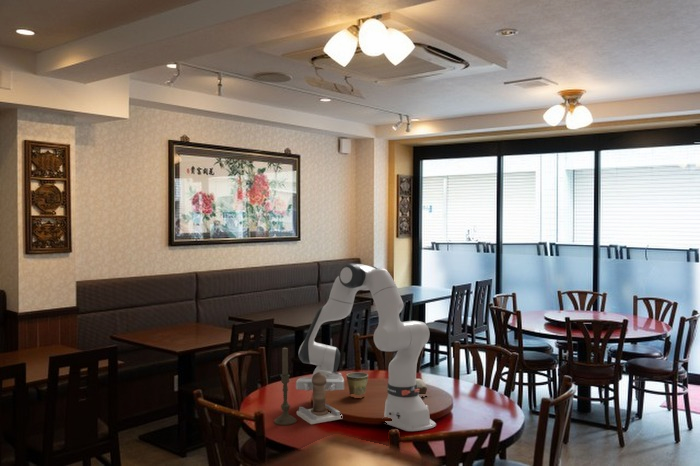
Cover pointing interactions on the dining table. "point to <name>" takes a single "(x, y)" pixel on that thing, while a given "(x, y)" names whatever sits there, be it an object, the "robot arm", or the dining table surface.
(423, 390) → the skull
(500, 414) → the dining table surface
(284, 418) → the candlestick holder
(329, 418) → the tray
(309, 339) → the robot arm
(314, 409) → the tan wooden upright piece
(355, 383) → the ceramic cup
